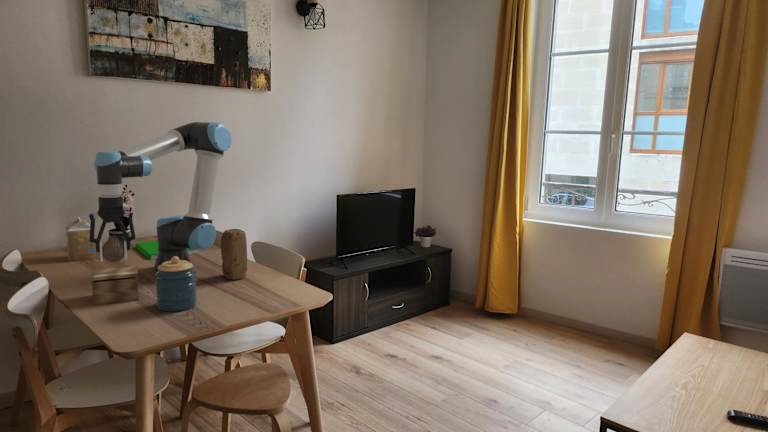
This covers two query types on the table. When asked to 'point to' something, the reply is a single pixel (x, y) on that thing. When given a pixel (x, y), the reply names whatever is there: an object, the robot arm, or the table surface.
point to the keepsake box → (115, 290)
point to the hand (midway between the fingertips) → (114, 260)
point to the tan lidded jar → (80, 241)
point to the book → (153, 249)
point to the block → (234, 253)
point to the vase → (113, 249)
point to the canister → (176, 285)
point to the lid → (114, 273)
